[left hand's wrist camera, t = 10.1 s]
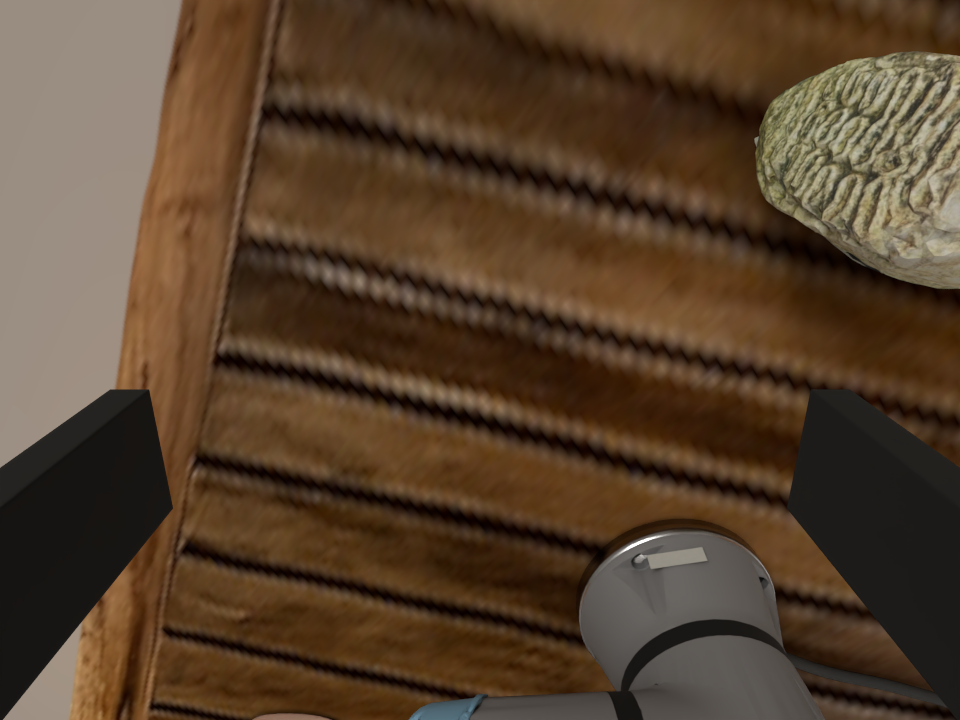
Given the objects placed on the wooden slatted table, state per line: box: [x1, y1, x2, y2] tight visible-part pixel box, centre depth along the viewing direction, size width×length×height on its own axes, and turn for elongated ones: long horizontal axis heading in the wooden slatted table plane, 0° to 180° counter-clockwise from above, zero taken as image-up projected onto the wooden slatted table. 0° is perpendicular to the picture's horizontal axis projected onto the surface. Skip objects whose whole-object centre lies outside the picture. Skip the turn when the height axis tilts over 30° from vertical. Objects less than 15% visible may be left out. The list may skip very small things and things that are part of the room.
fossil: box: [755, 51, 960, 289], centre depth 32 cm, size 9×18×15 cm, turn 68°
